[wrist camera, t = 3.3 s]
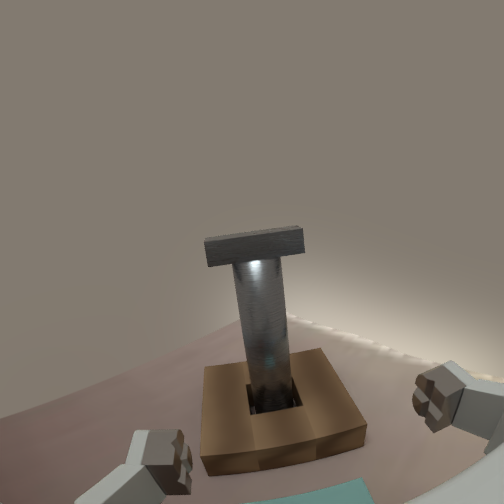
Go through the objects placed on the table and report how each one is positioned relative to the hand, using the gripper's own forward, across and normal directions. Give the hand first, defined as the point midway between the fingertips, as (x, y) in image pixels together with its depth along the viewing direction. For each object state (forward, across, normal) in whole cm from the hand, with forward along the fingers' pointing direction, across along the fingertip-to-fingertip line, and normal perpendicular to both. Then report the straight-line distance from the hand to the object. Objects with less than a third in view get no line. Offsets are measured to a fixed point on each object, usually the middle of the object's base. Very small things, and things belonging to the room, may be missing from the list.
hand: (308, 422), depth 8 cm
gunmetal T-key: (+15, 0, +14) cm, 20 cm away
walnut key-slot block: (+15, 0, +14) cm, 20 cm away
